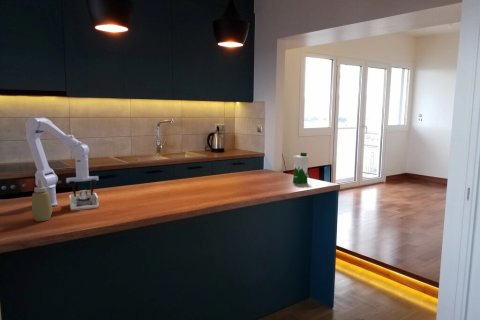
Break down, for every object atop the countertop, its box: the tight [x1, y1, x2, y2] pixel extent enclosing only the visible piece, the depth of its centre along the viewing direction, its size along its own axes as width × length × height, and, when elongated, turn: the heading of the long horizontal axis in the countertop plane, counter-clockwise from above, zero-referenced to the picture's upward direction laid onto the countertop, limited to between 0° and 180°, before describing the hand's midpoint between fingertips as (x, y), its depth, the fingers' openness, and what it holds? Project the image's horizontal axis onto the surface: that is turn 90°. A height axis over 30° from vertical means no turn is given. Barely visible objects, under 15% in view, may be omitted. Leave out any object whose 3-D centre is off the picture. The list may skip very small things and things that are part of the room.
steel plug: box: [78, 189, 88, 201], centre depth 182 cm, size 4×4×7 cm
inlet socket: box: [76, 198, 92, 207], centre depth 183 cm, size 7×7×2 cm
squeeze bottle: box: [31, 179, 53, 222], centre depth 159 cm, size 8×8×18 cm
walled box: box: [68, 192, 100, 212], centre depth 183 cm, size 13×13×5 cm
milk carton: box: [292, 152, 310, 185], centre depth 245 cm, size 9×9×20 cm
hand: (83, 195), depth 182 cm, fingers open, 7 cm apart
